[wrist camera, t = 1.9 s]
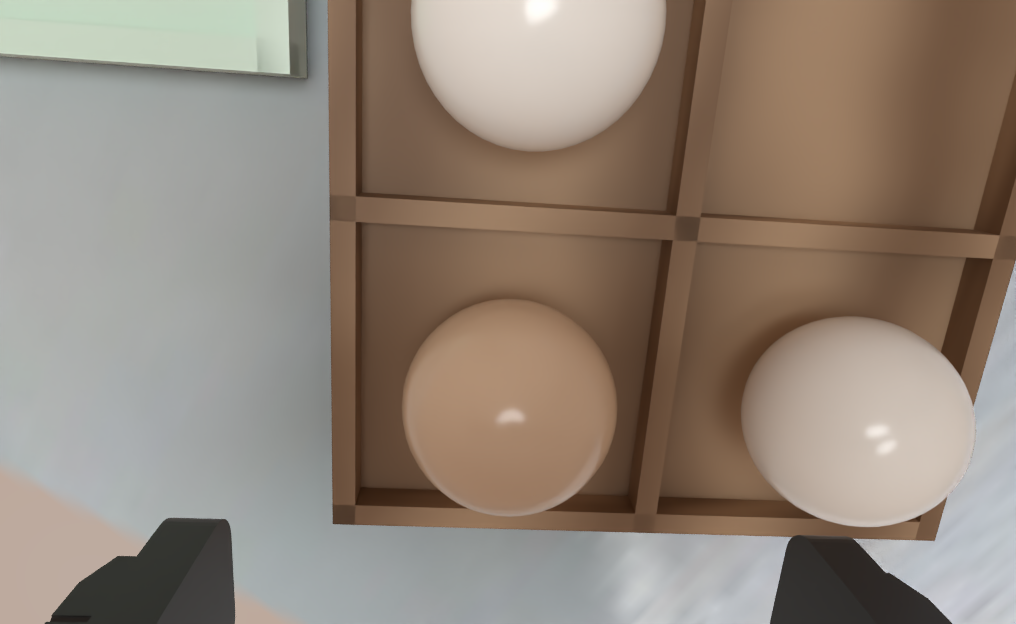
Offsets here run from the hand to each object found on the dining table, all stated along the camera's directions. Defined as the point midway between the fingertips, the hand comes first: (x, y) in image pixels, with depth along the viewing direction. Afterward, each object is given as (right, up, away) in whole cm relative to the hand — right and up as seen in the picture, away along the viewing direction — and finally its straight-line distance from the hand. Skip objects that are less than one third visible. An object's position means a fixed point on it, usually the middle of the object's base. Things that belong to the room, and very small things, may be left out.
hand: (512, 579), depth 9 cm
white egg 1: (+1, +10, +4) cm, 10 cm away
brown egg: (0, +2, +6) cm, 6 cm away
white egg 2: (+8, +1, +7) cm, 11 cm away
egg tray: (+4, +7, +10) cm, 13 cm away
